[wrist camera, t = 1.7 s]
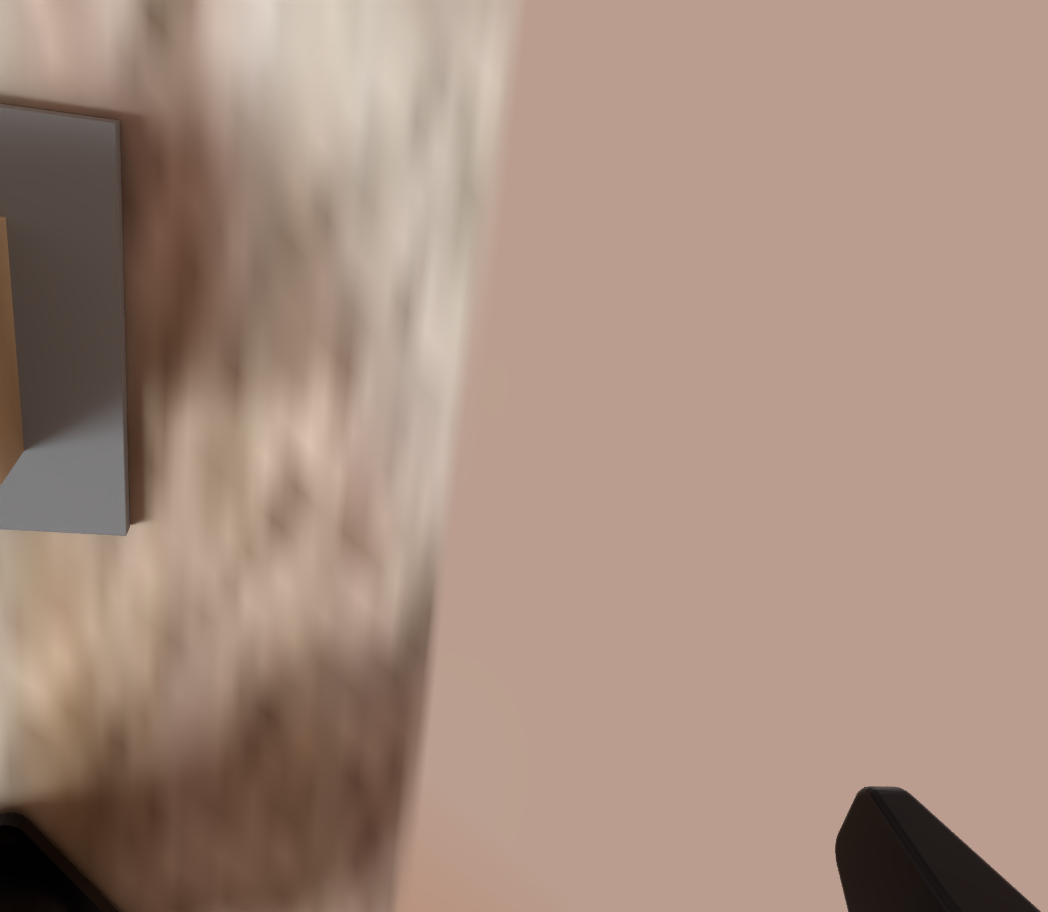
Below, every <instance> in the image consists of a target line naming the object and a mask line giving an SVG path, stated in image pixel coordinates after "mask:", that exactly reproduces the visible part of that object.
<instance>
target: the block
mask: <svg viewBox="0 0 1048 912" xmlns="http://www.w3.org/2000/svg"><path fill="white" fill-rule="evenodd" d="M23 452H24V443H23V430H22V417H21V405H20V392H19V379H18V366H17V354H16V341H15V328H14V316H13V303H12V290H11V277H10V265H9V252H8V239H7V226H6V217H0V485H1V484H2V482H3V481H4V480H5V478H6V477H7V475H8V474H9V472H10V471H11V469H12V468H13V466H14V465H15V463H16V462H17V461H18V459H19V458H20V456H21V455H22V453H23Z"/></svg>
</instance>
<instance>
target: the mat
mask: <svg viewBox="0 0 1048 912" xmlns="http://www.w3.org/2000/svg"><path fill="white" fill-rule="evenodd" d="M0 217H6V226H7V239H8V252H9V265H10V277H11V290H12V303H13V316H14V328H15V341H16V354H17V366H18V379H19V392H20V405H21V417H22V430H23V443H24V452H23V453H22V455H21V456H20V458H19V459H18V461H17V462H16V463H15V465H14V466H13V468H12V469H11V471H10V472H9V474H8V475H7V477H6V478H5V480H4V481H3V482H2V484H1V485H0V529H8V530H26V531H44V532H63V533H81V534H99V535H118V536H126V535H127V532H128V530H129V527H130V514H129V473H128V432H127V391H126V350H125V309H124V268H123V227H122V186H121V145H120V120H114V119H107V118H100V117H93V116H86V115H79V114H71V113H64V112H57V111H50V110H43V109H36V108H29V107H21V106H14V105H7V104H0Z"/></svg>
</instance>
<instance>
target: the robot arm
mask: <svg viewBox="0 0 1048 912" xmlns="http://www.w3.org/2000/svg"><path fill="white" fill-rule="evenodd" d="M5 831H6V832H5ZM8 832H11V833H8ZM835 853H836V862H837V867H838V871H839V875H840V879H841V883H842V887H843V892H844V896H845V900H846V904H847V908H848V912H1040V910H1038V909H1037V908H1036V907H1035V906H1034V905H1033V904H1032V903H1031V902H1030V901H1028V900H1027V899H1026V898H1025V897H1024V896H1023V895H1022V894H1021V893H1020V892H1018V891H1017V890H1016V889H1015V888H1014V887H1013V886H1012V885H1011V884H1010V883H1009V882H1007V881H1006V880H1005V879H1004V878H1003V877H1002V876H1001V875H1000V874H998V873H997V872H996V871H995V870H994V869H993V868H992V867H991V866H990V865H989V864H987V863H986V862H985V861H984V860H983V859H982V858H981V857H980V856H979V855H977V854H976V853H975V852H974V851H973V850H972V849H971V848H970V847H969V846H968V845H966V844H965V843H964V842H963V841H962V840H961V839H960V838H959V837H958V836H956V835H955V834H954V833H953V832H952V831H951V830H950V829H949V828H948V827H946V826H945V825H944V824H943V823H942V822H941V821H940V820H939V819H938V818H937V817H935V816H934V815H933V814H932V813H931V812H930V811H929V810H928V809H927V808H925V807H924V806H923V805H922V804H921V803H920V802H919V801H918V800H917V799H915V798H914V797H913V796H912V795H911V794H910V793H908V792H907V791H905V790H903V789H901V788H898V787H864V788H863V789H861V790H860V791H859V792H858V793H857V795H856V797H855V799H854V801H853V804H852V805H851V808H850V810H849V812H848V814H847V816H846V818H845V820H844V823H843V825H842V827H841V829H840V831H839V833H838V836H837V839H836V845H835ZM0 912H118V911H117V910H116V909H115V908H114V907H113V906H112V905H111V904H110V903H109V902H108V901H107V900H106V899H105V898H104V897H103V896H102V895H101V894H100V893H99V892H98V891H97V890H96V889H95V888H94V887H93V886H92V884H91V883H90V882H89V881H88V880H87V879H86V878H85V877H84V876H83V875H82V874H81V873H80V872H79V871H78V870H77V869H76V868H75V867H74V866H73V865H72V864H71V863H70V862H69V861H68V860H67V859H66V858H65V857H64V856H63V855H62V854H61V853H60V852H59V850H58V849H57V848H56V847H55V846H54V845H53V844H52V843H51V842H50V841H49V840H48V839H47V838H46V837H45V836H44V835H43V834H42V833H41V832H40V831H39V830H38V829H37V828H36V827H35V826H34V825H33V824H32V823H31V822H30V821H29V820H28V819H27V818H26V817H24V816H23V815H20V814H16V813H4V814H0Z"/></svg>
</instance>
